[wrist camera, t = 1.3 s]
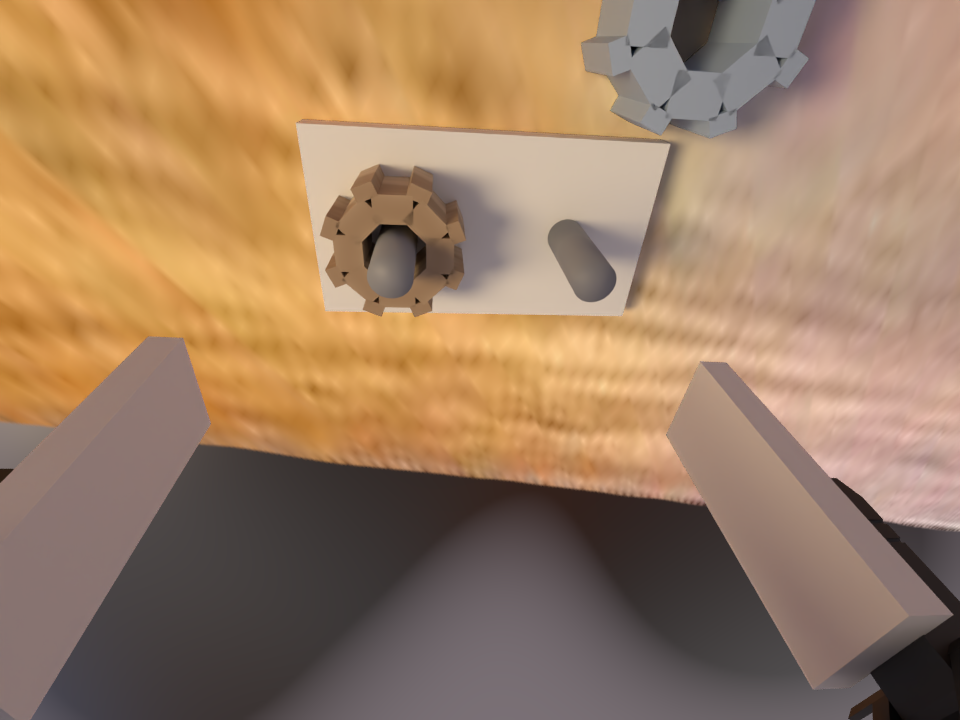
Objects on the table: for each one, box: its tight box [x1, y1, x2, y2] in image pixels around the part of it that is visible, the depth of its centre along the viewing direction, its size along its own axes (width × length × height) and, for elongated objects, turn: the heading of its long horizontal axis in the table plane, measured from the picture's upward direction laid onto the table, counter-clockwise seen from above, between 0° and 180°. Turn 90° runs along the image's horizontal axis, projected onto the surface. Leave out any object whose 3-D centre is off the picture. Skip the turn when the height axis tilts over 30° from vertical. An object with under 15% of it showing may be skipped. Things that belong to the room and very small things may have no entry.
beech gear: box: [320, 164, 466, 317], centre depth 27 cm, size 8×8×4 cm
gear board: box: [296, 119, 670, 316], centre depth 27 cm, size 12×22×8 cm, turn 86°
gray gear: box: [581, 0, 816, 138], centre depth 23 cm, size 10×10×5 cm
